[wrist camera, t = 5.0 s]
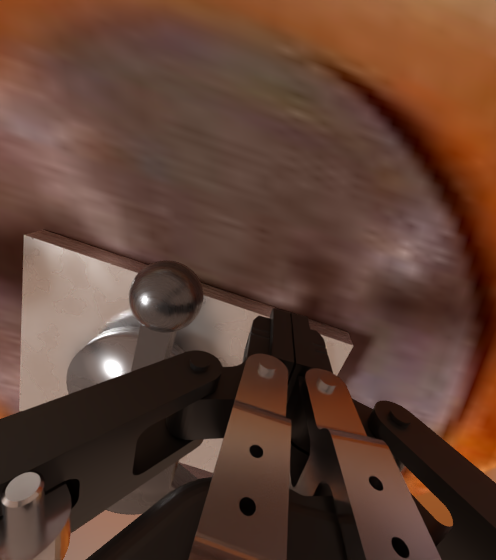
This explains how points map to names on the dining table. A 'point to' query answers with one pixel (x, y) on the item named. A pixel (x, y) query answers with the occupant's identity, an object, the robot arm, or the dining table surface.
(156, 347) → the silver lever
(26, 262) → the stand
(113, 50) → the dining table surface
